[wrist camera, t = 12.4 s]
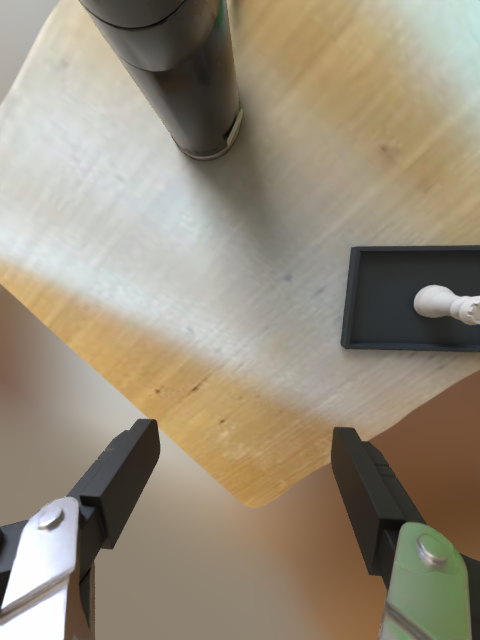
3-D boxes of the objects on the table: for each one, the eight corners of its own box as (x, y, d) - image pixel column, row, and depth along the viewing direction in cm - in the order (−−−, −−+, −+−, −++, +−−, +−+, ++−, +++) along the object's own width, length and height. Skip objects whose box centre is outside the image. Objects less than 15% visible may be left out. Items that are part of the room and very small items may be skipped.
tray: (351, 247, 31) (356, 246, 29) (511, 246, 29) (527, 244, 27) (340, 344, 34) (345, 348, 33) (482, 347, 33) (496, 352, 31)
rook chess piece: (443, 279, 31) (505, 285, 23) (448, 310, 31) (510, 325, 24) (408, 291, 31) (457, 299, 24) (414, 320, 32) (463, 338, 24)
